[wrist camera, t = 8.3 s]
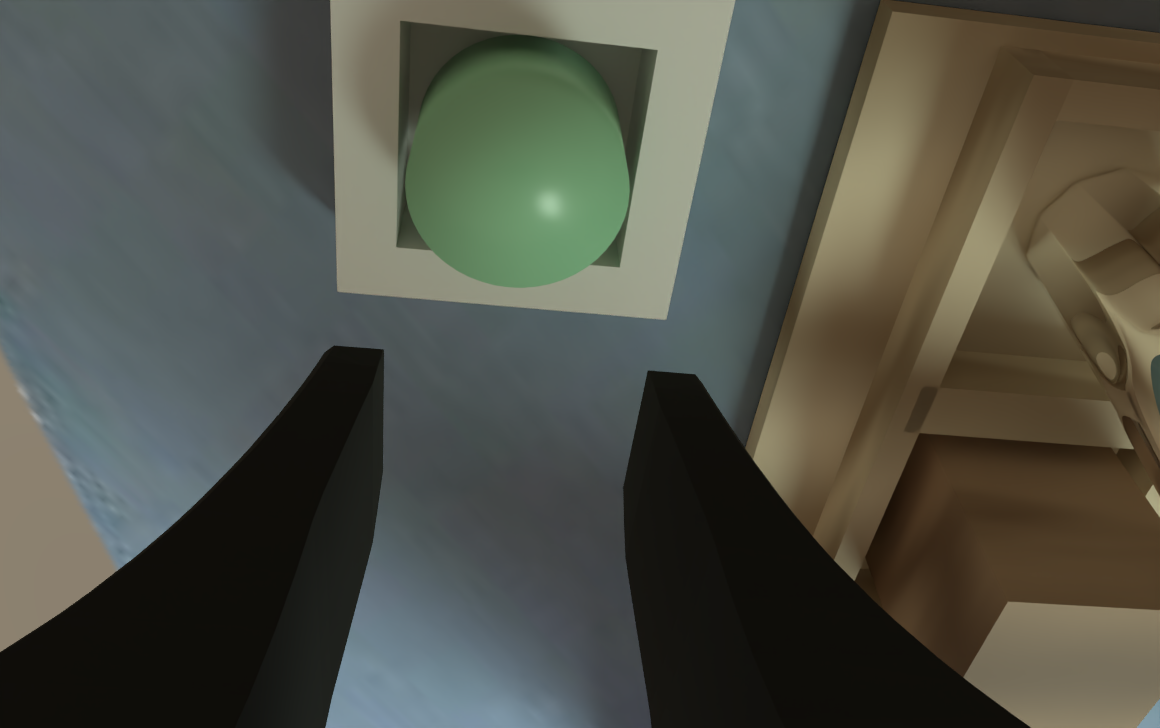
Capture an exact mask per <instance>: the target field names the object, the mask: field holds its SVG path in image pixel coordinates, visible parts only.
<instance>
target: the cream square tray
mask: <svg viewBox="0 0 1160 728" xmlns="http://www.w3.org/2000/svg"><path fill="white" fill-rule="evenodd" d="M734 4H735V0H330V10H331V51H332V92H333V133H334V174H335V215H336V256H337V292H345V293H357V294H369V295H381V296H392V297H404V298H416V299H427V300H439V301H451V302H463V303H474V304H486V305H498V306H509V307H521V308H533V309H545V310H556V311H568V312H580V313H592V314H603V315H615V316H627V317H638V318H650V319H662V320H666V318H667V314H668V309H669V304H670V300H671V295H672V291H673V286H674V281H675V277H676V272H677V267H678V263H679V258H680V254H681V249H682V244H683V240H684V235H685V230H686V226H687V221H688V217H689V212H690V207H691V203H692V198H693V193H694V189H695V184H696V180H697V175H698V170H699V166H700V161H701V156H702V152H703V147H704V142H705V138H706V133H707V129H708V124H709V119H710V115H711V110H712V105H713V101H714V96H715V92H716V87H717V82H718V78H719V73H720V68H721V64H722V59H723V55H724V50H725V45H726V41H727V36H728V31H729V27H730V22H731V18H732V13H733V8H734ZM505 35H531V36H536V37H542V38H545V39H549V40H552V41H555V42H558V43H560V44H562V45H564V46H566V47H568V48H570V49H572V50H573V51H575V52H576V53H578V54H579V55H581V56H582V57H583V58H584V59H586V60H587V61H588V62H589V63H590V64H591V65H592V66H593V67H594V68H595V69H596V70H597V71H598V72H599V73H600V75H601V76H602V78H603V79H604V81H605V82H606V84H607V85H608V87H609V89H610V91H611V93H612V95H613V97H614V100H615V103H616V106H617V110H618V115H619V120H620V126H621V132H622V138H623V144H624V150H625V156H626V162H627V168H628V174H629V186H630V193H629V203H628V208H627V212H626V216H625V219H624V221H623V223H622V226H621V228H620V230H619V232H618V234H617V235H616V237H615V239H614V241H613V242H612V243H611V244H610V246H609V247H608V248H607V250H606V251H605V252H604V253H603V254H602V255H601V256H600V257H599V258H598V259H597V260H596V261H594V262H593V263H592V264H590V265H589V266H588V267H587V268H585V269H583V270H582V271H580V272H578V273H577V274H575V275H573V276H570V277H568V278H566V279H564V280H561V281H558V282H555V283H552V284H548V285H542V286H537V287H526V288H514V287H503V286H496V285H492V284H488V283H484V282H481V281H478V280H475V279H473V278H470V277H468V276H466V275H464V274H462V273H460V272H458V271H457V270H455V269H454V268H452V267H451V266H449V265H448V264H446V263H445V262H444V261H443V260H442V259H440V258H439V257H438V256H437V255H436V254H435V253H434V252H433V251H432V250H431V249H430V248H429V247H428V245H427V244H426V243H425V241H424V240H423V239H422V237H421V236H420V234H419V233H418V231H417V229H416V227H415V225H414V223H413V221H412V218H411V215H410V212H409V209H408V204H407V199H406V190H405V178H406V168H407V164H408V160H409V156H410V151H411V147H412V143H413V139H414V135H415V130H416V126H417V122H418V118H419V114H420V109H421V105H422V101H423V98H424V96H425V93H426V91H427V88H428V87H429V85H430V83H431V82H432V80H433V78H434V77H435V75H436V74H437V73H438V71H439V70H440V69H441V68H442V67H443V66H444V65H445V64H446V63H447V62H448V61H449V60H450V59H451V58H452V57H453V56H455V55H456V54H458V53H459V52H460V51H462V50H463V49H465V48H467V47H469V46H471V45H473V44H475V43H478V42H480V41H483V40H486V39H489V38H494V37H498V36H505Z"/></svg>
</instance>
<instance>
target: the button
mask: <svg viewBox="0 0 1160 728" xmlns="http://www.w3.org/2000/svg"><path fill="white" fill-rule="evenodd" d="M405 190H406V199H407V204H408V209H409V212H410V215H411V218H412V221H413V223H414V225H415V227H416V229H417V231H418V233H419V234H420V236H421V237H422V239H423V240H424V241H425V243H426V244H427V245H428V247H429V248H430V249H431V250H432V251H433V252H434V253H435V254H436V255H437V256H438V257H439V258H440V259H442V260H443V261H444V262H445V263H446V264H448V265H449V266H451V267H452V268H454V269H455V270H457V271H458V272H460V273H462V274H464V275H466V276H468V277H470V278H473V279H475V280H478V281H481V282H484V283H488V284H492V285H496V286H503V287H514V288H526V287H537V286H542V285H548V284H552V283H555V282H558V281H561V280H564V279H566V278H568V277H570V276H573V275H575V274H577V273H578V272H580V271H582V270H583V269H585V268H587V267H588V266H589V265H590V264H592V263H593V262H594V261H596V260H597V259H598V258H599V257H600V256H601V255H602V254H603V253H604V252H605V251H606V250H607V248H608V247H609V246H610V244H611V243H612V242H613V241H614V239H615V237H616V235H617V234H618V232H619V230H620V228H621V226H622V223H623V221H624V219H625V216H626V212H627V208H628V203H629V193H630V186H629V174H628V168H627V162H626V156H625V150H624V144H623V138H622V132H621V126H620V120H619V115H618V110H617V106H616V103H615V100H614V97H613V95H612V93H611V91H610V89H609V87H608V85H607V84H606V82H605V81H604V79H603V78H602V76H601V75H600V73H599V72H598V71H597V70H596V69H595V68H594V67H593V66H592V65H591V64H590V63H589V62H588V61H587V60H586V59H584V58H583V57H582V56H581V55H579V54H578V53H576V52H575V51H573V50H572V49H570V48H568V47H566V46H564V45H562V44H560V43H558V42H555V41H552V40H549V39H545V38H542V37H536V36H531V35H505V36H498V37H494V38H489V39H486V40H483V41H480V42H478V43H475V44H473V45H471V46H469V47H467V48H465V49H463V50H462V51H460V52H459V53H458V54H456V55H455V56H453V57H452V58H451V59H450V60H449V61H448V62H447V63H446V64H445V65H444V66H443V67H442V68H441V69H440V70H439V71H438V73H437V74H436V75H435V77H434V78H433V80H432V82H431V83H430V85H429V87H428V88H427V91H426V93H425V96H424V98H423V101H422V105H421V109H420V114H419V118H418V122H417V126H416V130H415V135H414V139H413V143H412V147H411V151H410V156H409V160H408V164H407V168H406V178H405Z"/></svg>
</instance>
